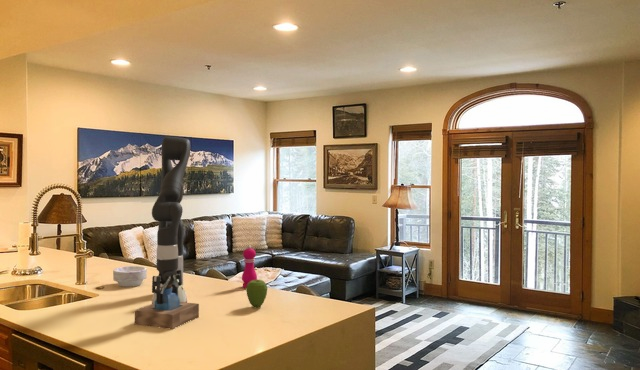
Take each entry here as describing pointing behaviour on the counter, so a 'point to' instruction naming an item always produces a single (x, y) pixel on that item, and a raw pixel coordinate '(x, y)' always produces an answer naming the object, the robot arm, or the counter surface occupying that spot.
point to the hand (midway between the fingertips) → (167, 301)
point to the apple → (256, 292)
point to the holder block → (166, 315)
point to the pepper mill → (249, 266)
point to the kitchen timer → (181, 294)
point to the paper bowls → (129, 275)
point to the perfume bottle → (168, 300)
